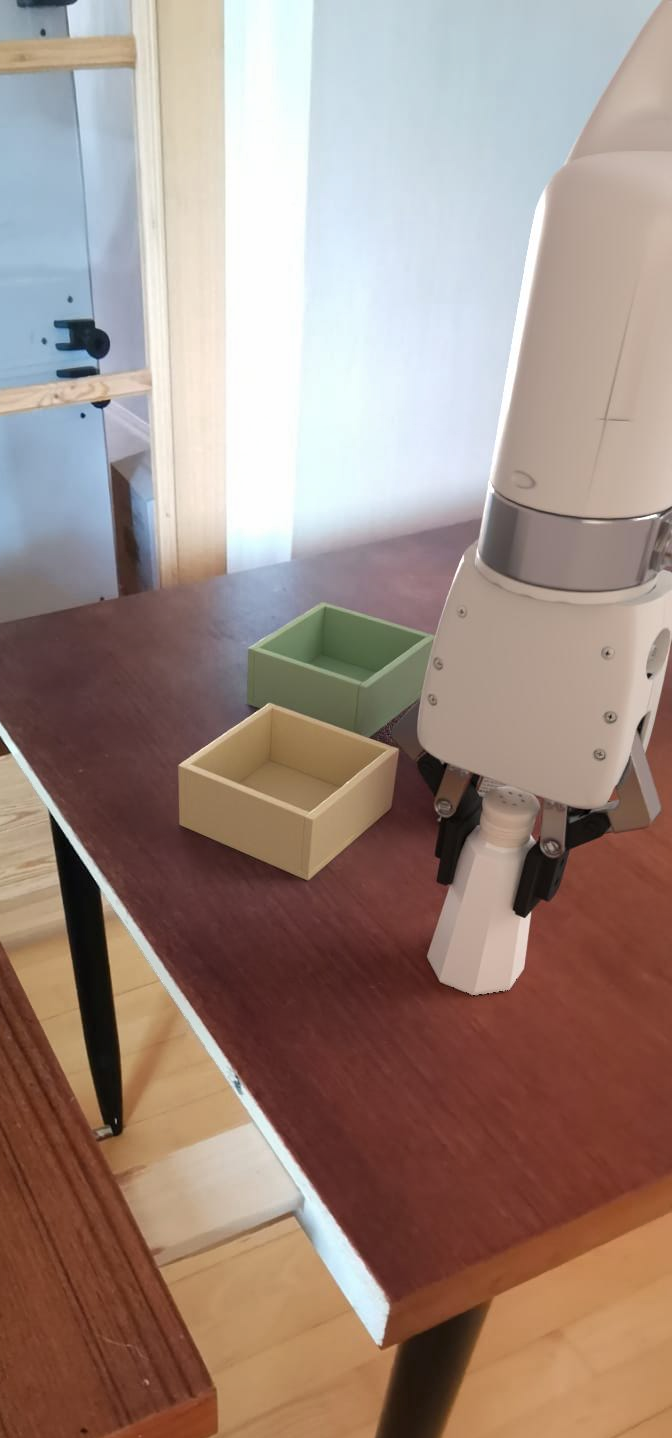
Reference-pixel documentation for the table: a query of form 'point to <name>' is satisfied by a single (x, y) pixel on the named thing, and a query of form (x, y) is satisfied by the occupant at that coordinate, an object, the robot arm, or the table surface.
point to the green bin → (340, 668)
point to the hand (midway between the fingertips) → (492, 884)
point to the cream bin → (287, 789)
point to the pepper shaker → (487, 899)
